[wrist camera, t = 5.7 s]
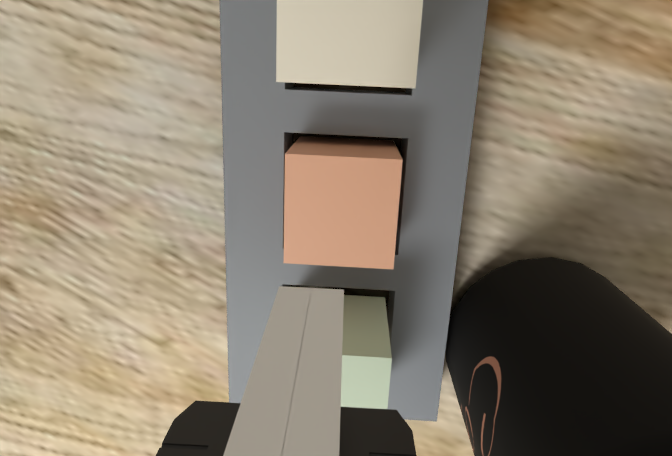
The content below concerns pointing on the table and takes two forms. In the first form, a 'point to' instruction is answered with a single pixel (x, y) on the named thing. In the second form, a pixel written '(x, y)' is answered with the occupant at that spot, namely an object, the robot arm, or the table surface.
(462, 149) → the slate panel
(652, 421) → the coffee jar
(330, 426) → the robot arm
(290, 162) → the terracotta button
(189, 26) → the table surface
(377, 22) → the cream button
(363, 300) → the sage button
